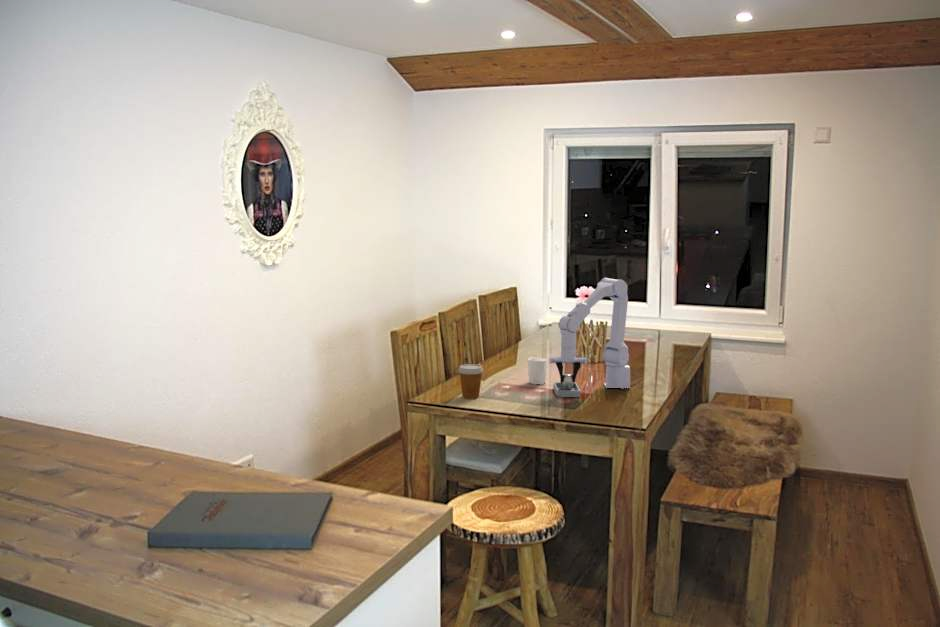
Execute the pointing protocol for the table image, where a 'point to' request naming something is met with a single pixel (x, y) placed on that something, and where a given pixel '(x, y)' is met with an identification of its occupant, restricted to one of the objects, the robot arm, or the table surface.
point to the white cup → (537, 370)
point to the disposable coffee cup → (470, 380)
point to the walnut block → (561, 386)
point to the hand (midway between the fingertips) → (567, 381)
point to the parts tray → (567, 393)
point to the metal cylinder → (567, 381)
